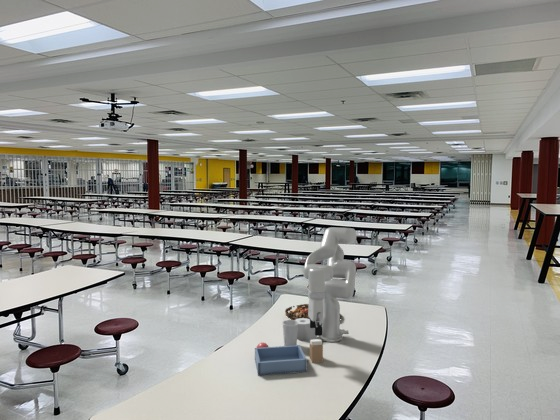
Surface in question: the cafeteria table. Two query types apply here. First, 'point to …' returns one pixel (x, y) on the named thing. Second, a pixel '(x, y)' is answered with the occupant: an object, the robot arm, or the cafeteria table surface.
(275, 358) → the tub
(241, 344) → the cafeteria table surface
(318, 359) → the brown and white block
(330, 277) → the robot arm
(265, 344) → the red glossy sphere
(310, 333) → the toilet tissue
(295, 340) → the cup
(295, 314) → the food dish
